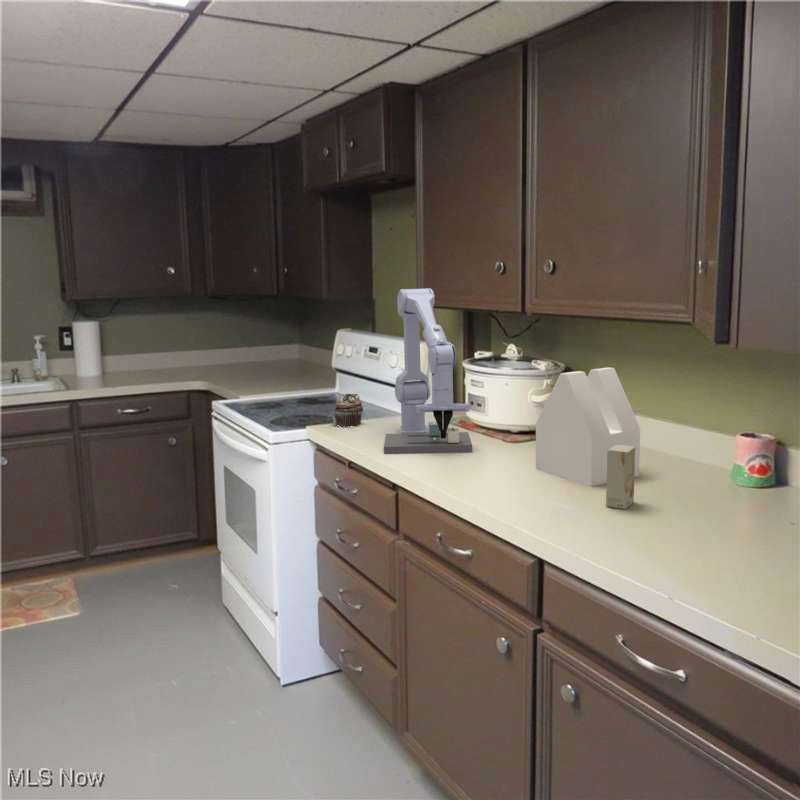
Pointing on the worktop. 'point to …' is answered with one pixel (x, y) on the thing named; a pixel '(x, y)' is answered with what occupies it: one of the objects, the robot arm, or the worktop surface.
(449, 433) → the ivory fader
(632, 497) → the skincare box
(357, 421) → the cupcake
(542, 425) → the grey house shaped holder
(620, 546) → the worktop surface
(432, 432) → the teal fader
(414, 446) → the console
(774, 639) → the worktop surface
